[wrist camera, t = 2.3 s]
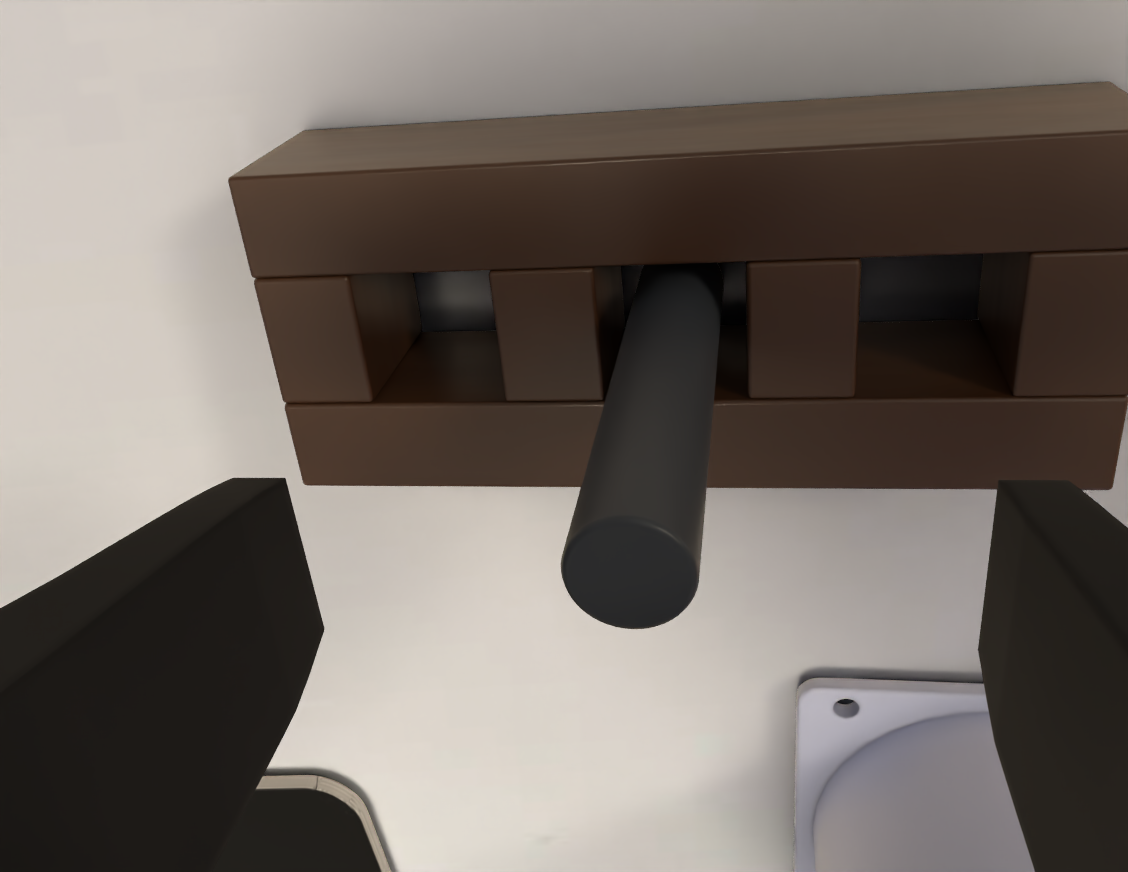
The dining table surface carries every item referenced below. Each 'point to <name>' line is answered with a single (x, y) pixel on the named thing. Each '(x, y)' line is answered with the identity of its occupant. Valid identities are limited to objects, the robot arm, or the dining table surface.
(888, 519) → the dining table surface
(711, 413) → the stylus
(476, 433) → the stand
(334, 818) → the tablet
